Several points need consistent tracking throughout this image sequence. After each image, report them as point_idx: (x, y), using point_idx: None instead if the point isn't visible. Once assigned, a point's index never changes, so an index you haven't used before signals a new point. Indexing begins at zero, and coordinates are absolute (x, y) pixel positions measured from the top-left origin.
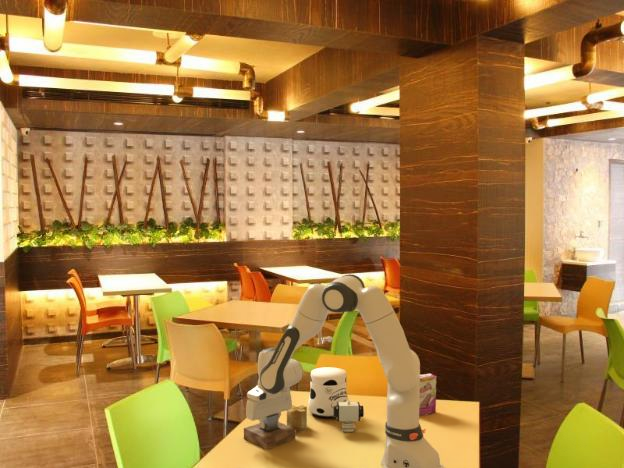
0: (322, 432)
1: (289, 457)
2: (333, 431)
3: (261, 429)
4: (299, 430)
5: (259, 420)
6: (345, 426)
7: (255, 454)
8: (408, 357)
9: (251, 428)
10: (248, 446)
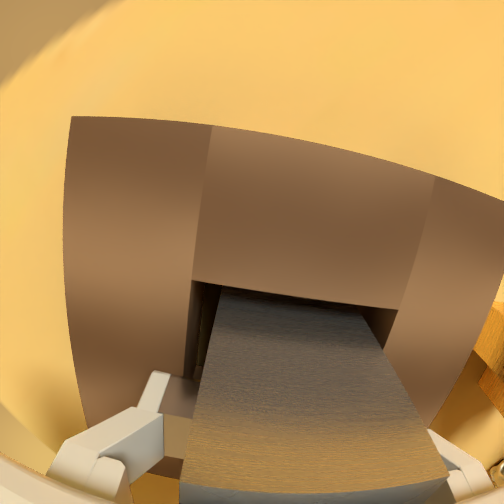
0: (481, 439)
1: (152, 496)
2: (494, 449)
3: (218, 304)
4: (488, 367)
5: (86, 443)
6: (498, 484)
7: (38, 381)
8: None
9: (124, 203)
10: (54, 280)
